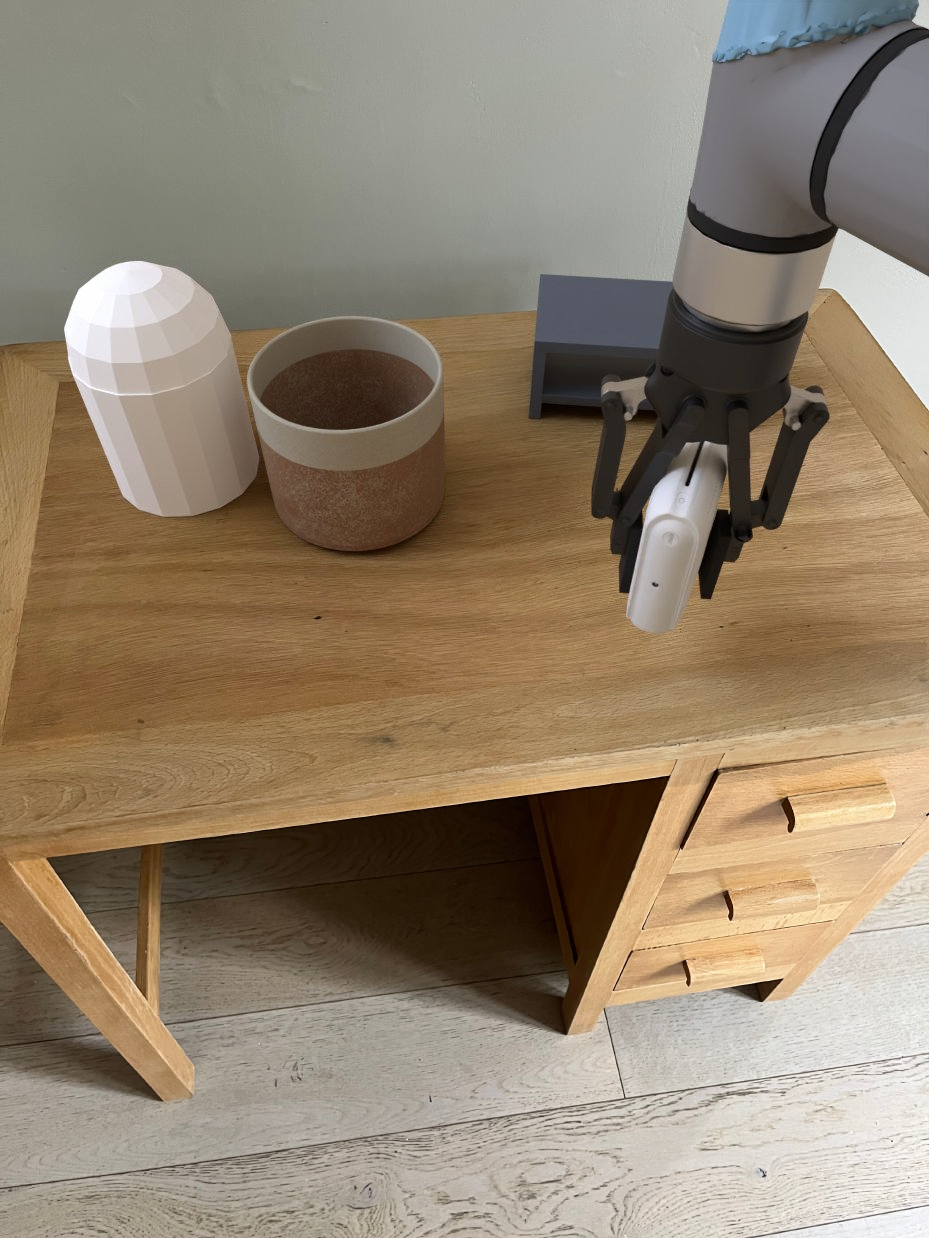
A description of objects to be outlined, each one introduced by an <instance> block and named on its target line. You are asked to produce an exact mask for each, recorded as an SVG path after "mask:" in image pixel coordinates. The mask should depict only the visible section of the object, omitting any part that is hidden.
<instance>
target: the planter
mask: <svg viewBox="0 0 929 1238" xmlns="http://www.w3.org/2000/svg"><path fill="white" fill-rule="evenodd" d="M444 373H445V372H444V363H443V360H442V357H441V354H440V353H439V351H438V350H437V348H436V347H435V345H434V344H433V343H432V342H431V341H430V340H429V339H427V338H426V337H425V336H424V335H422V334H421V333H420V332H418V331H416V330H415V329H413V328H411V327H409V326H407V325H404V324H402V323H399V322H396V321H392V320H388V319H384V318H379V317H373V316H361V315H346V316H345V315H344V316H343V315H342V316H332V317H325V318H320V319H315V320H311V321H308V322H305V323H302V324H298V325H297V326H296V325H295V326H293V327H292V328H289V329H287V330H285V331H283V332H281V333H280V334H277V335H276V336H275V337H273V338H272V339H270V340H269V341H268V342H267V343H265V344H264V345H263V346H262V347H261V348H260V350H258V351H257V352H256V354H255V356H254V357H253V359H252V360H251V362H250V364H249V367H248V370H247V375H246V386H247V391H248V396H249V400H250V403H251V408H252V413H253V417H254V421H255V422H254V423H255V425H256V431H257V434H258V439H259V443H260V448H261V452H262V456H263V461H264V465H265V469H266V474H267V478H268V482H269V487H270V492H271V496H272V500H273V504H274V505H273V506H274V508H275V511H276V513H277V515H278V517H279V518H280V520H281V521H282V523H283V524H284V525H285V526H286V527H287V528H288V530H289V531H291V532H292V533H293V534H295V535H296V536H297V537H298V538H301V539H303V540H304V541H306V542H308V543H310V544H313V545H315V546H318V547H322V548H325V549H330V550H334V551H342V552H343V551H344V552H365V551H373V550H380V549H383V548H386V547H389V546H390V547H391V546H393V545H396V544H399V543H401V542H403V541H405V540H408V539H410V538H411V537H413V536H415V535H417V534H418V533H419V532H420V531H422V530H423V529H425V528H426V527H427V526H428V525H429V524H430V523H431V522H432V521H433V519H435V517H436V515H437V514H438V513H439V511H440V509H441V507H442V505H443V502H444V499H445V496H446V448H445V447H446V446H445V445H446V444H445V443H446V442H445V435H446V434H445V384H444V383H445V382H444V381H445V380H444V379H445V378H444V377H445V375H444Z"/></svg>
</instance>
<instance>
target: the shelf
mask: <svg viewBox="0 0 929 1238" xmlns="http://www.w3.org/2000/svg"><path fill="white" fill-rule="evenodd" d="M538 284H539V285H538V292H537V293H538V294H537V305H536V306H537V307H536V319H535V331H534V339H533V340H534V342H533V355H532V367H531V379H530V390H529V391H530V393H529V405H528V419H535V420H536V419H537V420H540V419H541V414H542V404H554V405H568V406H581V407H598V408H601V381H602V379H603V378H604V377H605V376H607V375H610V374H614V375H617V376H618V377H619V378H620V380H621V381H625V380H630V379H635V378H640V377H644V375H645V372H646V370H647V369H648V367H649V366H650V365H651V364H652V363H653V362H654V360H655V358H656V356H657V353H658V349H659V344H660V338H661V333H662V328H663V323H664V318H665V313H666V308H667V303H668V298H669V294H670V292H671V290H672V289H673V287H674V286H673V283H672V281H668V280H652V279H651V280H649V279H633V278H617V277H616V278H615V277H599V276H581V275H579V276H578V275H563V274H549V273H548V274H547V273H545V274H544V273H540V274H539V282H538ZM637 410H643V411H644V410H645V411H655V410H654V409H653V407H652V406H651V404H650V403H649V401H648V400H647V399H645V400H643V401H641V402H640V403H639V405H638V409H637Z"/></svg>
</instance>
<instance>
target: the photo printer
mask: <svg viewBox="0 0 929 1238" xmlns="http://www.w3.org/2000/svg"><path fill="white" fill-rule="evenodd" d="M727 475H728V464H727V446H726V445H718V444H714V443H711V442H707V441H702V442H695V443H686V444H685V446H684V448H683V449H682V451H681V452H680V454H679V456H678V457H677V458H675V457H674V458H673V460H672V461H671V463H670V465H669V466H668V468H667V470H666V471H665V473H664V474H663V476H662V478H661V479H660V481H659V483H658V484H657V485H656V486H655V487H654V489H653V491H652V493H651V496H650V498H649V499H648V504H647V508H646V510H645V517H644V520H643V531H642V536H641V541H640V545H639V550H638V555H637V559H636V564H635V569H634V573H633V578H632V583H631V587H630V592H629V593H628V597H627V603H626V617H625V618H626V619H628V620H630V621H631V624H632V625H633V626H635V627H636V628H637V629H639V630H641V631H643V632H645V633H648V634H653V635H654V634H655V635H662V634H667V633H668V632H671V633H672V632H674V631H675V630H676V628H677V626H678V625H679V623H680V622H681V620H682V618H683V616H684V613H685V611H686V608H687V605H688V603H689V601H690V598H691V595H692V592H693V588H694V585H695V582H696V580H697V577H698V571H699V568H700V565H701V562H702V558H703V555H704V552H705V548H706V545H707V542H708V538H709V535H710V531H711V528H712V525H713V521H714V518H715V515H716V512H717V509H718V505H719V501H720V498H721V495H722V493H723V492H722V491H723V488H724V485H725V481H726V477H727Z"/></svg>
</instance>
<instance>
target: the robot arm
mask: <svg viewBox="0 0 929 1238" xmlns="http://www.w3.org/2000/svg"><path fill="white" fill-rule="evenodd" d="M919 7H920V3H919V0H728V3H727V6H726V10H725V14H724V17H723V22H722V25H721V29H720V33H719V37H718V41H717V45H716V48H715V49H714V51H712V57H711V62H712V68H711V74H710V81H709V86H708V93H707V97H706V103H705V104H706V105H705V111H704V115H703V116H704V117H703V121H702V122H703V123H702V129H701V135H700V140H699V146H698V151H697V157H696V162H695V166H694V173H693V177H692V178H693V179H692V184H691V186H690V189H689V192H690V193H689V196H688V201H687V204H686V205H687V206H686V212H685V215H684V220H683V226H682V231H681V235H680V240H679V245H678V250H677V254H676V260H675V265H674V269H673V273H672V281H671V282H672V283H673V286H674V287H673V289H672V290H671V292H670V294H669V298H668V303H667V308H666V313H665V318H664V323H663V328H662V333H661V338H660V344H659V349H658V353H657V356H656V358H655V360H654V362H653V363H652V364H651V365H650V366H649V367H648V369H647V370H646V372H645V375H644V377H640V378H635V379H630V380H625V381H621V380H620V378H619V377H618V376H617V375H614V374H610V375H607V376H605V377H604V378H603V379H602V381H601V407H600V408H601V413H602V416H603V424H602V429H601V434H600V439H599V440H600V441H599V446H598V450H597V456H596V461H595V467H594V473H593V478H592V483H591V490H590V491H591V492H590V495H591V497H590V513H591V514H590V515H591V516H592V517H593V518H595V519H597V520H603V519H606V518H609V519H610V520H612V523H611V528H610V534H609V550H610V553H611V555H617V556H620V558H619V562H618V593H619V594H629V592H630V587H631V583H632V578H633V573H634V569H635V564H636V559H637V555H638V550H639V545H640V541H641V536H642V531H643V526H644V516H643V509H644V507H645V506H646V504H647V503H648V502H649V500H650V497H651V493H652V491H653V489H654V487H655V486H656V485H657V484H658V483H659V481H660V479H661V478H662V476H663V474H664V473H665V471H666V470H667V468H668V466H669V465H670V463H671V461H672V460H673V458H674V457H675V458H677V457H678V456H679V454H680V452H681V451H682V449H683V448H684V446H685V444H686V443H695V442H702V441H707V442H711V443H714V444H718V445H726V446H727V464H728V470H727V482H728V496H729V497H728V498H729V500H728V501H729V508H730V510H729V509H725V508H724V509H723V508H717V509H716V513H715V517H714V520H713V524H712V527H711V531H710V535H709V538H708V542H707V545H706V548H705V552H704V555H703V558H702V562H701V565H700V568H699V571H698V574H697V577H698V585H699V586H698V587H699V597H700V600H712V598H713V595H714V592H715V590H716V589H715V588H716V586H717V582H718V580H719V576H720V574H721V571H722V568H723V566H724V563H735V562H737V560H738V559H739V558H740V555H741V552H742V550H743V547H744V544H746V543H749V542H751V541H752V539H753V538H754V534H753V530H754V529H756V528H759V527H761V528H762V527H763V528H764V529H765V530H767V531H773V530H774V531H775V530H777V529H779V528H780V527H781V526H782V524H783V521H784V518H785V516H786V513H787V510H788V507H789V504H790V501H791V499H792V496H793V492H794V490H795V486H796V484H797V481H798V478H799V475H800V472H801V470H802V468H803V465H804V462H805V458H806V456H807V452H808V450H809V447H810V444H811V443H812V441H813V440H814V439H815V438H816V437H817V435H818V434H819V433H820V432H821V431H822V429H823V428H824V427H825V426H826V424H827V423H828V422H829V420H830V418H831V417H830V411H829V407H828V404H827V401H826V396H825V392H824V390H823V388H822V387H821V386H820V385H810V386H808V387H806V388H805V389H803V388H800V387H797V386H795V385H792V384H790V372H791V371H792V368H793V365H794V362H795V359H796V357H797V353H798V351H799V348H800V345H801V341H802V338H803V336H804V334H805V330H806V327H807V325H808V320H809V311H810V309H811V307H812V306H813V305H814V303H815V301H816V299H817V296H818V292H819V289H820V286H821V283H822V280H823V277H824V274H825V271H826V268H827V264H828V262H829V259H830V255H831V252H832V249H833V246H834V242H835V239H836V237H837V233H838V232H839V230H842V231H844V232H846V233H848V234H850V235H852V236H853V237H855V238H857V239H858V240H861V241H863V242H865V244H868V245H870V246H872V247H873V248H876V249H877V250H879V251H881V252H883V253H884V254H886V255H888V256H890V257H892V258H893V259H895V260H897V261H898V262H901V263H903V264H904V265H906V266H908V267H909V268H912V269H913V270H916V271H917V272H919V273H921V274H923V275H925V276H927V277H928V278H929V28H927V27H926V26H922V25H919V24H917V23H915V22H914V21H913V20H914V19H915V17H916V16H917V13H918V12H917V11H918V8H919ZM645 399H647V400H648V401H649V403H650V404H651V406H652V407H653V409H654V410H653V411H654V412H655V414H656V415H657V418H656V420H655V425H654V428H653V430H652V431H651V433H650V435H649V437H648V439H647V441H646V442H645V444H644V446H643V448H642V450H641V451H640V453H639V455H638V457H637V458H636V460H635V462H634V464H633V465H632V468H631V469H630V471H629V472H628V474H627V476H626V478H625V480H624V481H623V483H622V485H621V487H620V489H619V487H616V482H617V479H618V473H619V470H620V469H619V468H620V466H621V465H620V464H621V460H622V455H623V450H624V446H625V441H626V437H627V436H626V435H627V421H628V422H629V421H631V420H632V419H633V417H634V416H635V415H636V414H637V413H638V410H639V409H638V405H639V403H640V402H641V401H643V400H645ZM780 410H782V416H783V421H782V424H781V426H780V430H779V434H778V435H777V436H778V437H777V440H776V443H775V446H774V448H773V453H772V456H771V458H770V462H769V465H768V468H767V470H766V471H767V472H766V474H765V477H764V480H763V484H762V487H761V490H760V493H759V496H758V499H754V500H752V489H751V488H752V487H751V485H752V484H751V432H753V431H754V430H755V429H757V428H758V427H760V426H761V425H762V424H763V423H765V422H766V421H767V420H769V419H770V418H771V417H772V416H774V415H775V414H776V413H778V412H779V411H780Z"/></svg>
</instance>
